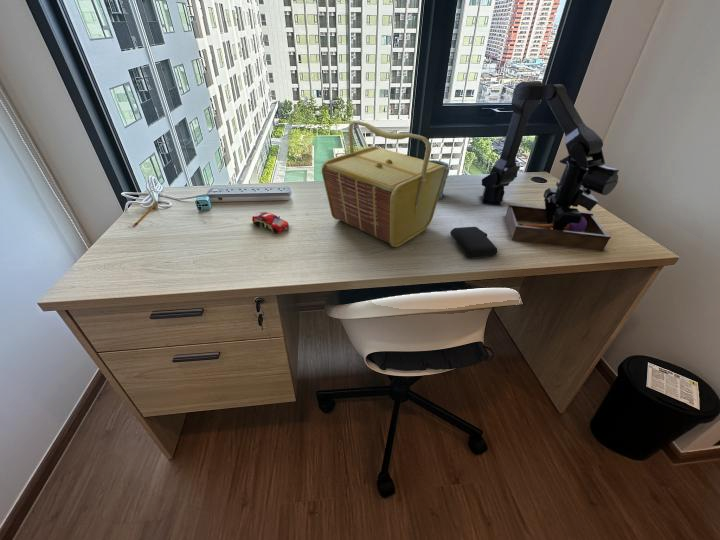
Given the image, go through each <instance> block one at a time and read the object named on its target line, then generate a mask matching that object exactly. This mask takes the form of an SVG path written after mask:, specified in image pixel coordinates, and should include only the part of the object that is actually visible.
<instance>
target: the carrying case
mask: <svg viewBox="0 0 720 540" xmlns="http://www.w3.org/2000/svg"><path fill="white" fill-rule="evenodd" d="M450 236H451V238H452V239H453V240H454V241H455V242H456V244H457V246H458V247H459V248H460V249H461V251H462V253H463V254H464V255H465V256H466V257H467V258H469V259H477V258H478V259H479V258H489V257H495V256H496V255H497V254H498V247H497V246H496V245H495V244H494V243H493V242H492V241H491V239H489V237H488V233H486V232H485V231H483V230H482V229H480V228H479V227H478V226H462V227H454V228H452V229H451V230H450Z"/></svg>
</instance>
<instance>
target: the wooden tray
mask: <svg viewBox="0 0 720 540" xmlns="http://www.w3.org/2000/svg"><path fill="white" fill-rule="evenodd" d="M578 211H579V212H580V213H581V215H582V216H583V217H584V218H585V219H586V221H587V226H586V228H585V231H586V232H584V231H583V232H574V231H566V230H557V229H553V228H551V229H548V228H539V227H530V226H521V225H520V224H518V221H517V220H519V221H527V222H536V223H543V224H547V219H546V209H545V207H542V206H541V207H540V206H531V205H523V204H522V205H521V204H513V203H512V204H511V203H508V207H507V210H506V212H505V216H504V218H505V222H506V225H507V229H508V233H509V236H510V238H511V241H516V242H522V243H523V242H525V243H531V244H532V243H533V244H540V245H549V246H557V247H564V248H565V247H566V248H574V249H581V250H582V249H583V250H590V251H597V252H598V251H599V252H604V250H605V248H606V246H607V245H608V243H609V242H610V240H611V238H612V236H611V235H609V234H608V233H607V232H606V231H605V229H604V228H603V226H602V225H601V224H600V223H599V221H598V220H597V219H596V217H595V216H594V213H593V212H591V211H580V210H578ZM551 224H553V221H552V222H551Z"/></svg>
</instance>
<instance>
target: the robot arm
mask: <svg viewBox="0 0 720 540" xmlns="http://www.w3.org/2000/svg"><path fill="white" fill-rule="evenodd" d="M541 101H546V103H547V105H548V106H549V107H550V110H551V111H552V114H553V115H554V117H555V120H557V122H558V124H559V126H560V128H561V130H562V131H563V133H564V136H565V148H566V151H567V153H568V155H567V156H565V157H564V158H561V159H560V160H559V163H560V164H563V165H565V167H564V170H563V172H562V175H561V177H560V180H559V181H556V184H555V186H556V188H554V187H548V188H547V189H545V190H544V192H543V195H542V196H543V198H544V199H543V202H544V208H545V209H546V219H547V223H546V224H553V228H552V229H557V230H563V229H564V228H565V227H566V226H567V225H568V224H570V223H577V224H579V223H580V222H581V220H582V218H583V216H582V215H581V213H580V212H579V211H580V210H579V209H578V207H579V206H580V207H582V208H584V209H586V210H587V211H588V212H591V211H592V209H594V208H595V207H596V206H597V205H598V203H599V201H598V199H597V198H596V197H595V196H594V195H593V194H591V193H592V192H595V193H597V194H599V195H601V196H608V195H609V194H611V192H612V191H613V190H614V189H615V188H616V186H617V185H618V184H619V171H620V170H619V169H618V168H615V167H609V166H606V165H605V164H606V161H605V157H604V153H603V147H604V141H603V139H602V138H601V136H599V134H598V133H596V131H595V130H593V129H592V128H590V127H589V126H587V125H586V123H585V122H584V120H583V118H582V117H581V116H580V114H579V112H578V111H577V108H576V107H575V104H574V103H573V102H572V100H571V98H570V96H569V94H568V92H567V89H566V87H565V85H564V84H562V83H557V84H556V83H555V84H544V83H543V82H542V81H540V80H528V81H520V82H519V83H518V84H517V85H515V86H514V88H513V91H512V97H511V103H510V104H511V108H512V112H513V113H512V116H511V120H510V123H509V126H508V129H507V133H506V136H505V139H504V142H503V147H502V150H501V153H500V156H499V158H498V159H497V160H496V161H495V163H494V164H493V165H492V168H491V169H490V172H489V174H488V175H486V176H485V177H483V178H482V179H481V186H483V187H484V188H483V192H482V195H480V199H481V203H482V204H483V205H492V206H501V204H502V203H503V199H504V196H505V192H506V191H505V187H508V186H509V185H510V184H511V183H512V182H514V180H515V179H516V178H518V172H519V170H520V169H521V168H520V165H517V161H516V160H517V155H518V152H519V150H520V147H521V144H522V140H523V138H524V134H525V131H526V128H527V125H528V122H529V119H530V116H531V115H532V113H533V112H534V111H535V109H536V108H537V107H538V106H539V105H540V102H541ZM588 159H589V160H588ZM582 187H583V188H582ZM552 221H553V223H551V222H552Z"/></svg>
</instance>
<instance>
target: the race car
mask: <svg viewBox="0 0 720 540" xmlns="http://www.w3.org/2000/svg"><path fill="white" fill-rule="evenodd" d="M280 217H281V216H280V215H279V216H278V215H277V214H274V213H271V212H267V211H261V212H256V213H255V214H253V215H252V217H251V220H252V224H253V225H255V227H257V228H261V229H264V230H268V231H270V232H273V233H274V234H276V235H277V234H282V233H284V232H287V231H288V230H289V229H290V225H289V222H288V221H286V220H284V219H282V218H280Z"/></svg>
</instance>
